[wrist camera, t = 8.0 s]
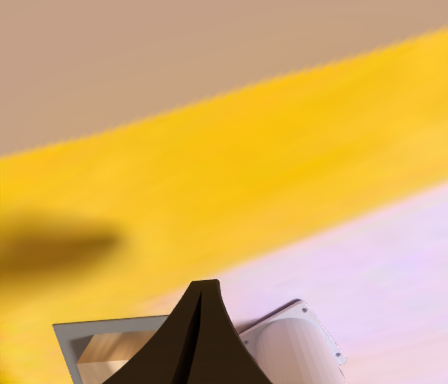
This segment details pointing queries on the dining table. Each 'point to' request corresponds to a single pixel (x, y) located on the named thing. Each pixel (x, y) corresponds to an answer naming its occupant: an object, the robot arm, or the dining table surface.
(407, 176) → the dining table surface
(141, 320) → the grey panel
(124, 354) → the birch block
